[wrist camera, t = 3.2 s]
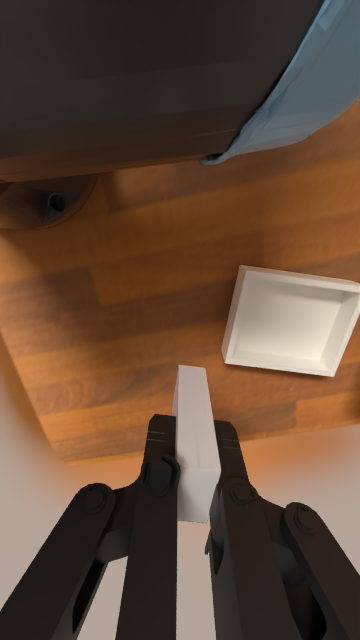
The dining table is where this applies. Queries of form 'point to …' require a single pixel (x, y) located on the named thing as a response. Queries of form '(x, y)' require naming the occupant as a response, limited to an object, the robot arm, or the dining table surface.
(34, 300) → the dining table surface
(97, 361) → the dining table surface
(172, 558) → the robot arm
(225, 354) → the tray
